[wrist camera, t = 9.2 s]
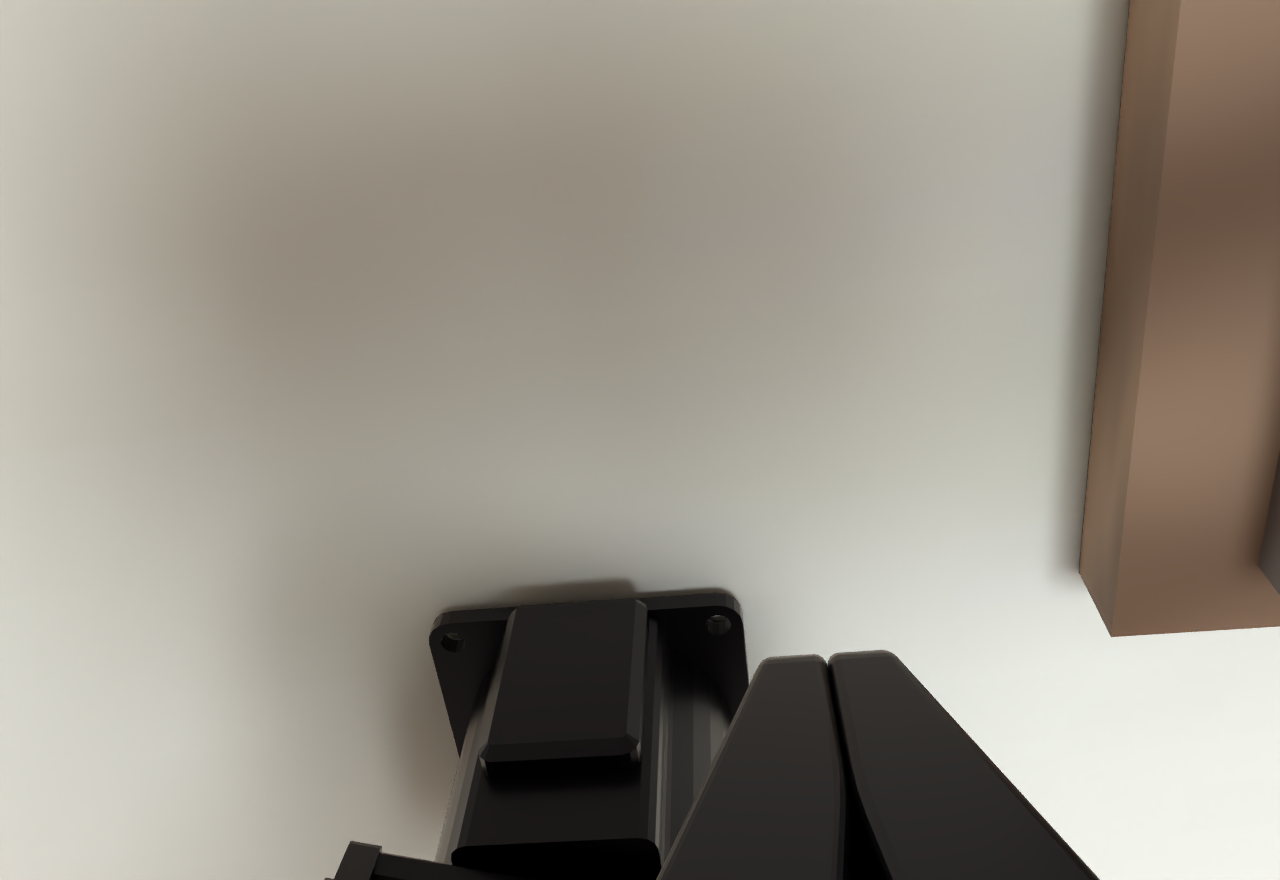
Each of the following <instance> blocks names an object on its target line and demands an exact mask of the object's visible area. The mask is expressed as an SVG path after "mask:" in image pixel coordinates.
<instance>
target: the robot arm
mask: <svg viewBox="0 0 1280 880" xmlns="http://www.w3.org/2000/svg"><path fill="white" fill-rule="evenodd" d="M715 615H721V616H725V617H726V618H728V619H727V620H726V621H723V622H720V623H718V622H712V621H711V620H709V618H710V617H712V616H715ZM448 633H455V634H458V635H460V636H461V637H463V639H460V640H456V639H452V638H450V637H448V636H447V635H446V634H448ZM429 645H430V649H431V652H432V656H433V660H434V664H435V667H436V671H437V675H438V679H439V682H440V686H441V690H442V694H443V697H444V701H445V705H446V709H447V712H448V716H449V720H450V724H451V727H452V731H453V735H454V739H455V742H456V746H457V750H458V754H459V757H460V760H459V764H458V768H457V772H456V776H455V780H454V784H453V789H452V793H451V797H450V801H449V805H448V809H447V813H446V817H445V821H444V825H443V830H442V834H441V838H440V842H439V846H438V850H437V854H436V858H435V862H434V861H428V860H422V859H417V858H411V857H405V856H399V855H394V854H388V853H382V846H377V845H371V844H366V843H360V842H354V841H350V843H349V845H348V847H347V850H346V852H345V855H344V857H343V859H342V862H341V864H340V866H339V869H338V871H337V873H336V876H335V878H334V879H331V878H325V879H324V880H1100V879H1099V878H1098V877H1097V876H1096V875H1095V874H1094V873H1093V871H1092V870H1091V869H1090V868H1089V867H1088V866H1087V865H1086V864H1085V863H1084V862H1083V861H1082V859H1081V858H1080V857H1079V856H1078V855H1077V854H1076V853H1075V852H1074V851H1073V850H1072V848H1071V847H1070V846H1069V845H1068V844H1067V843H1066V842H1065V841H1064V840H1063V839H1062V837H1061V836H1060V835H1059V834H1058V833H1057V832H1056V831H1055V830H1054V829H1053V828H1052V826H1051V825H1050V824H1049V823H1048V822H1047V821H1046V820H1045V819H1044V818H1043V817H1042V816H1041V814H1040V813H1039V812H1038V811H1037V810H1036V809H1035V808H1034V807H1033V806H1032V805H1031V803H1030V802H1029V801H1028V800H1027V799H1026V798H1025V797H1024V796H1023V795H1022V794H1021V792H1020V791H1019V790H1018V789H1017V788H1016V787H1015V786H1014V785H1013V784H1012V783H1011V781H1010V780H1009V779H1008V778H1007V777H1006V776H1005V775H1004V774H1003V773H1002V772H1001V770H1000V769H999V768H998V767H997V766H996V765H995V764H994V763H993V762H992V761H991V760H990V758H989V757H988V756H987V755H986V754H985V753H984V752H983V751H982V750H981V749H980V747H979V746H978V745H977V744H976V743H975V742H974V741H973V740H972V739H971V738H970V736H969V735H968V734H967V733H966V732H965V731H964V730H963V729H962V728H961V727H960V725H959V724H958V723H957V722H956V721H955V720H954V719H953V718H952V717H951V716H950V715H949V713H948V712H947V711H946V710H945V709H944V708H943V707H942V706H941V705H940V704H939V702H938V701H937V700H936V699H935V698H934V697H933V696H932V695H931V694H930V693H929V691H928V690H927V689H926V688H925V687H924V686H923V685H922V684H921V683H920V682H919V680H918V679H917V678H916V677H915V676H914V675H913V674H912V673H911V672H910V671H909V669H908V668H907V667H906V666H905V665H904V664H903V663H902V662H901V661H900V660H899V659H898V657H897V656H895V655H894V654H893V653H891V652H889V651H885V650H874V651H859V652H843V653H836V654H833V655H832V656H831V657H830V659H829V660H828V664H827V663H826V661H825V660H824V659H823V657H821V656H819V655H815V654H811V655H795V656H780V657H769V658H766V659H765V660H763V661H762V662H761V664H760V665H759V666H758V668H757V670H756V672H755V674H754V676H753V678H752V681H751V683H750V685H749V678H748V667H747V656H746V645H745V634H744V624H743V613H742V609H741V606H740V604H739V603H738V601H737V600H736V599H735V598H733V597H731V596H729V595H726V594H718V593H713V594H698V595H684V596H669V597H654V598H640V599H632V598H631V599H616V600H601V601H587V602H572V603H558V604H543V605H529V606H520V607H508V608H494V609H479V610H465V611H451V612H447V613H443V614H442V615H440V616H439V617H437V618H436V620H435V622H434V624H433V626H432V629H431V633H430V636H429Z"/></svg>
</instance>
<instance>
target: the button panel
mask: <svg viewBox="0 0 1280 880" xmlns="http://www.w3.org/2000/svg"><path fill="white" fill-rule="evenodd" d="M1079 573H1080V575H1081V577H1082V579H1083V581H1084V583H1085V585H1086V587H1087V589H1088V591H1089V593H1090V595H1091V597H1092V599H1093V601H1094V603H1095V605H1096V607H1097V609H1098V611H1099V613H1100V615H1101V618H1102V620H1103V622H1104V624H1105V626H1106V628H1107V630H1108V632H1109V634H1110V636H1111V637H1118V636H1133V635H1149V634H1165V633H1181V632H1197V631H1213V630H1229V629H1245V628H1261V627H1277V626H1280V0H1130V6H1129V17H1128V28H1127V40H1126V51H1125V62H1124V73H1123V85H1122V96H1121V107H1120V118H1119V129H1118V141H1117V152H1116V163H1115V174H1114V186H1113V197H1112V208H1111V219H1110V231H1109V242H1108V253H1107V264H1106V276H1105V287H1104V298H1103V309H1102V321H1101V332H1100V343H1099V354H1098V366H1097V377H1096V388H1095V399H1094V411H1093V422H1092V433H1091V444H1090V456H1089V467H1088V478H1087V489H1086V501H1085V512H1084V523H1083V534H1082V546H1081V557H1080V568H1079Z"/></svg>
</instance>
